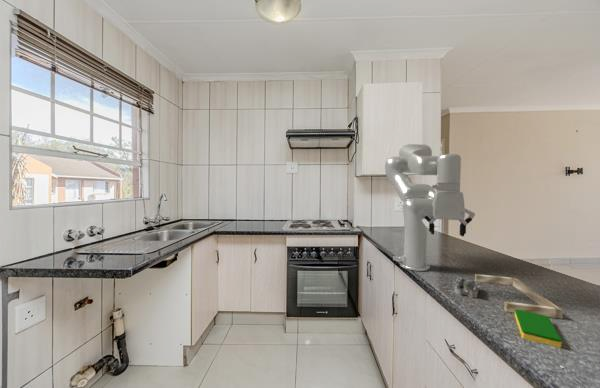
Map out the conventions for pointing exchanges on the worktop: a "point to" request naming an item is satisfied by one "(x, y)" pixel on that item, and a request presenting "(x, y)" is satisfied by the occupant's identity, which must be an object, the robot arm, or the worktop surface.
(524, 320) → the dish sponge
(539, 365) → the worktop surface
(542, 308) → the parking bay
